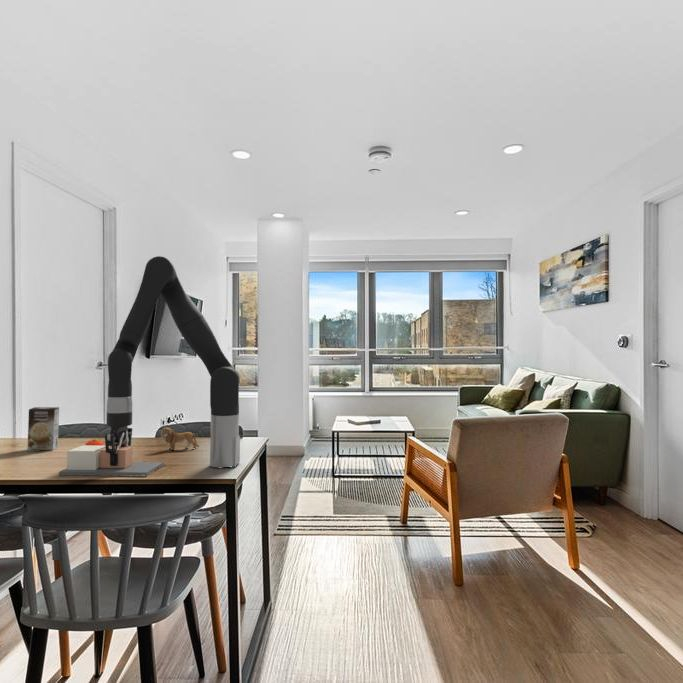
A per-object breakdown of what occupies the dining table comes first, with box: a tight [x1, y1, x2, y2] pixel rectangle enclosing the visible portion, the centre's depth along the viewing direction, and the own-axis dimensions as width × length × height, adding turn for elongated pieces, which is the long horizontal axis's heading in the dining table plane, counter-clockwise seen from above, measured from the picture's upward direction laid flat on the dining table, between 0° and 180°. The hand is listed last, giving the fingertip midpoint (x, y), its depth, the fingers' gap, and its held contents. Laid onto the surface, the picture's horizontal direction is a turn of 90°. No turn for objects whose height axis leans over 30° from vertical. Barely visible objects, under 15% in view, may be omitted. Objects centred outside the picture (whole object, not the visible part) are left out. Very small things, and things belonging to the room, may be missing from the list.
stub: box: [100, 446, 133, 468], centre depth 153 cm, size 8×5×6 cm, turn 90°
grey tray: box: [58, 444, 165, 477], centre depth 153 cm, size 27×14×7 cm, turn 90°
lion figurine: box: [160, 427, 200, 451], centre depth 187 cm, size 15×5×9 cm, turn 120°
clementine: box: [84, 438, 105, 446], centre depth 170 cm, size 8×7×7 cm
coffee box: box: [26, 406, 60, 452], centre depth 185 cm, size 9×6×16 cm
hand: (118, 463), depth 153 cm, fingers open, 5 cm apart
